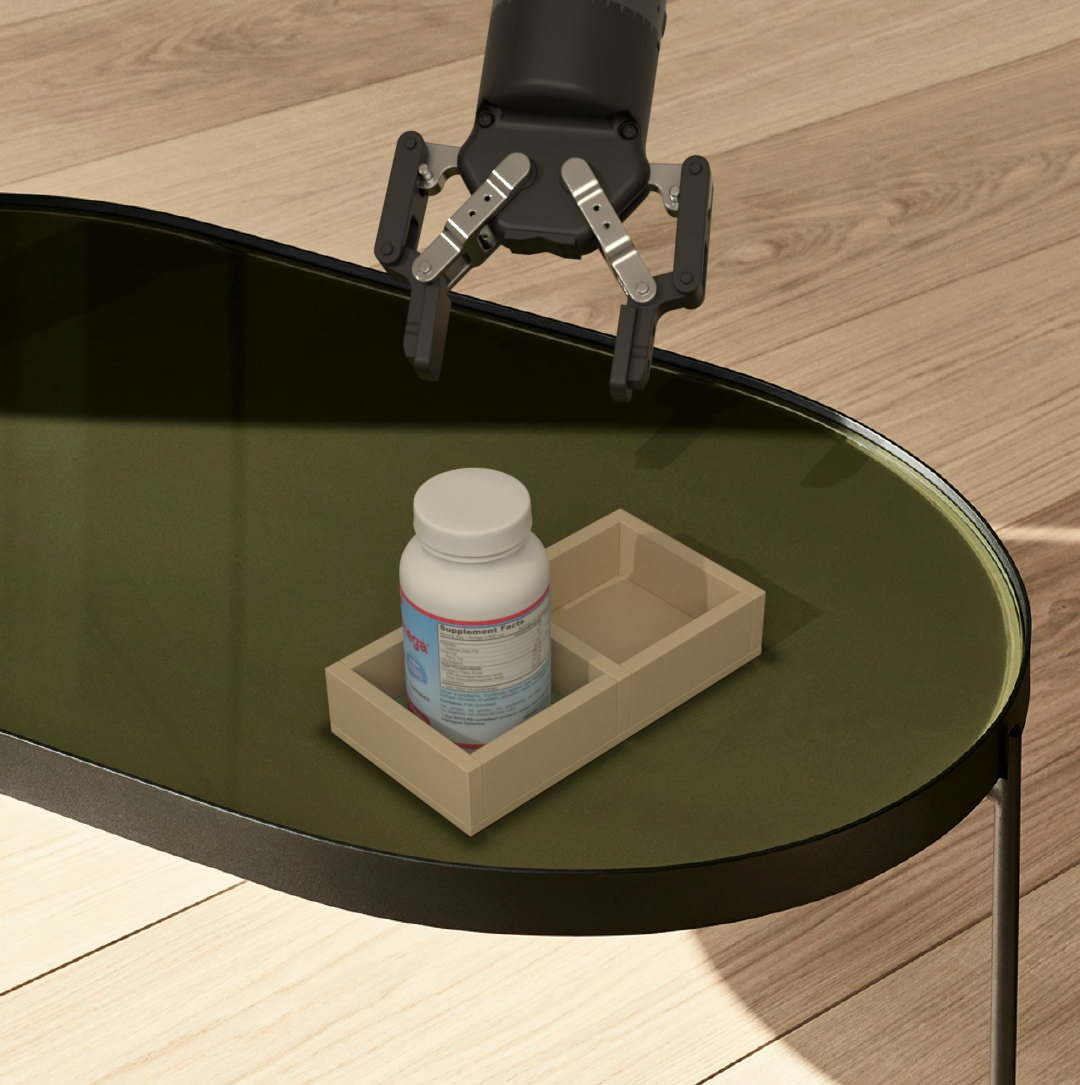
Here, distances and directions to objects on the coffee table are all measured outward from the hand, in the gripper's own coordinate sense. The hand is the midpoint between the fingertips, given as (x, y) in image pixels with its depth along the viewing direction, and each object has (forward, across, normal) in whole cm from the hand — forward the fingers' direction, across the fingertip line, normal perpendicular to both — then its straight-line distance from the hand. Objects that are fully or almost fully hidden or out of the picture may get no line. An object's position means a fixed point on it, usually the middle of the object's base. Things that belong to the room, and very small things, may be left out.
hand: (522, 387), depth 84 cm
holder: (+13, +3, +3) cm, 13 cm away
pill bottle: (+14, 0, +1) cm, 15 cm away
